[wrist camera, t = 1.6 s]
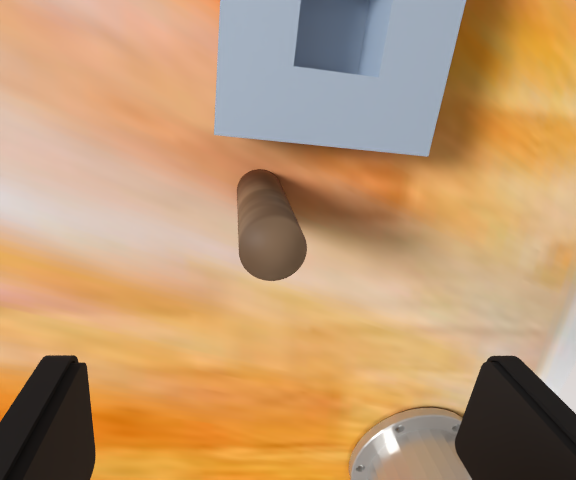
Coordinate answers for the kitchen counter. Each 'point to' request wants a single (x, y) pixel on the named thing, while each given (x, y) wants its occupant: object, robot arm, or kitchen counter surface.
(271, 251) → the peg
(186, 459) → the kitchen counter surface
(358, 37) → the hole block
